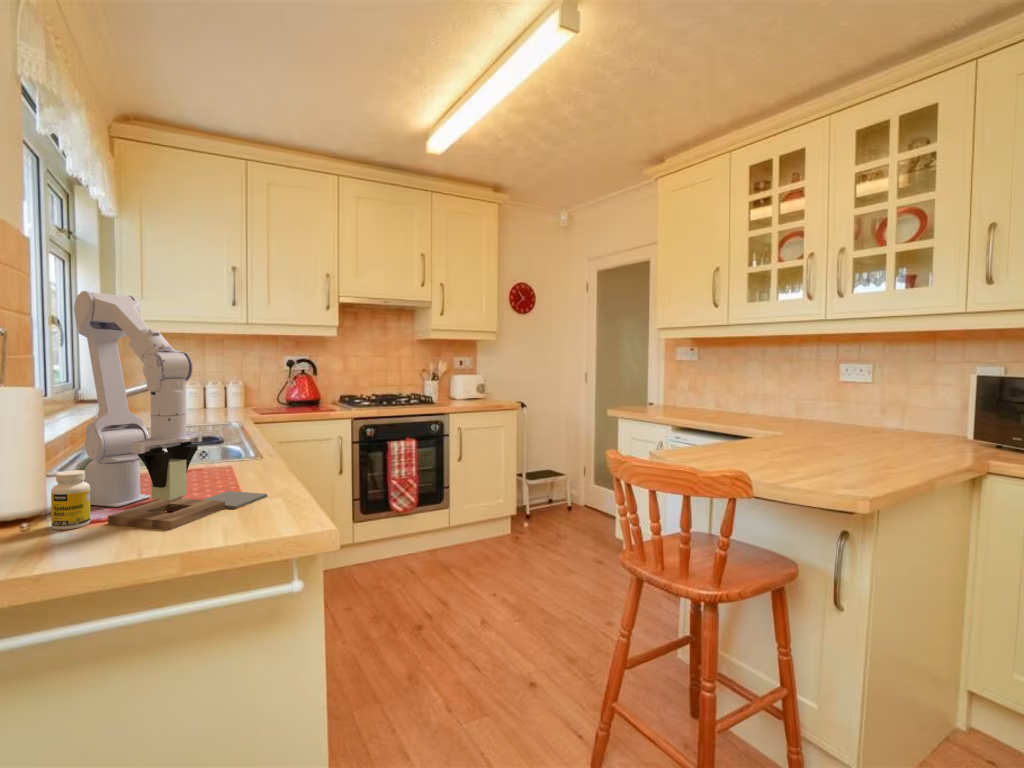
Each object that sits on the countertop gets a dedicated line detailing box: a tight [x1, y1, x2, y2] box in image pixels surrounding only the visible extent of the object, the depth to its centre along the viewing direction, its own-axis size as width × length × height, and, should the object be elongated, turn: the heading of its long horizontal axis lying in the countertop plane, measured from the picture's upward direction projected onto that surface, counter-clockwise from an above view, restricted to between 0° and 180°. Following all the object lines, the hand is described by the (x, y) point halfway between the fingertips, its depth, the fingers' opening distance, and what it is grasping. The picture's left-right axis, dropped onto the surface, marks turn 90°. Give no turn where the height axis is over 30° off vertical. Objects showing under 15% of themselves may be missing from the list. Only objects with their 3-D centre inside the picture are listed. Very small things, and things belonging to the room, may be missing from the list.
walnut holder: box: [107, 497, 226, 530], centre depth 101 cm, size 13×13×2 cm
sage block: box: [151, 459, 188, 500], centre depth 101 cm, size 4×4×7 cm
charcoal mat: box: [202, 490, 268, 510], centre depth 112 cm, size 10×10×1 cm
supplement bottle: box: [50, 469, 91, 531], centre depth 94 cm, size 5×5×10 cm
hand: (169, 484), depth 101 cm, fingers closed on sage block, 4 cm apart
